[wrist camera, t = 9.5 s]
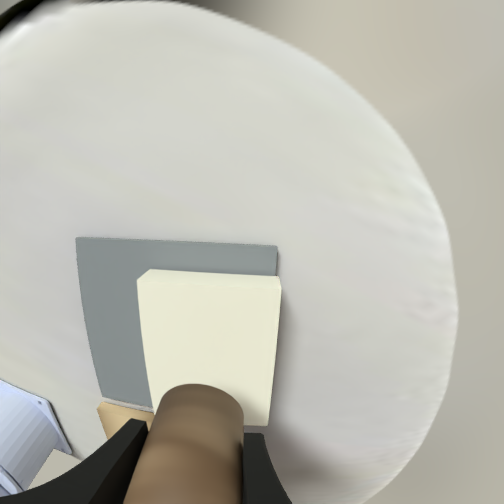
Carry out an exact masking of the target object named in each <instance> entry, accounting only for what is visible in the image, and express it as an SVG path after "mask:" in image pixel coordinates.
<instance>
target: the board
mask: <svg viewBox="0 0 504 504" xmlns="http://www.w3.org/2000/svg"><path fill="white" fill-rule="evenodd" d="M97 411H98V414H99V417H100V420H101V423H102V425H103V428H104V431H105V433H106V436H107V439H108V440H109V439H110V438H111V437H112V436H113V435H114V434H115V433H116V432H117V431H118V430H119V429H120V428H121V427H122V426H123V425H124V424H125V423H126V422H127V421H128V420H129V419H131V418H134V419H139V420H144V421H146V423H147V427H148V431H149V430H150V427H151V424H152V422H153V419H154V416H155V415H154V413H152V412H146V411H141V410H136V409H131V408H126V407H122V406H117V405H113V404H109V403H105V402H101V404H100V405H99V407H98V408H97Z"/></svg>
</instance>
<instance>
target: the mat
mask: <svg viewBox="0 0 504 504" xmlns="http://www.w3.org/2000/svg"><path fill="white" fill-rule="evenodd" d="M76 253H77V265H78V275H79V283H80V291H81V299H82V306H83V312H84V318H85V324H86V329H87V335H88V340H89V345H90V349H91V354H92V358H93V363H94V367H95V371H96V375H97V379H98V383H99V386H100V390H101V393H102V397H106V398H110V399H114V400H119V401H123V402H128V403H133V404H138V405H143V406H148V407H153V405H152V399H151V394H150V388H149V382H148V376H147V370H146V363H145V356H144V349H143V341H142V333H141V324H140V314H139V303H138V290H137V279H138V278H140V277H141V276H142V275H143V274H145V273H146V272H147V271H148V270H149V269H157V270H172V271H188V272H205V273H222V274H241V275H261V276H275V275H276V261H277V246H270V245H250V244H229V243H208V242H187V241H164V240H141V239H118V238H93V237H77V238H76Z"/></svg>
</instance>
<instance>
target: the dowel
mask: <svg viewBox="0 0 504 504" xmlns="http://www.w3.org/2000/svg"><path fill="white" fill-rule="evenodd" d="M243 438H244V414H243V410H242V408H241V406H240V404H239V403H238V402H237V401H236V400H235V399H234V398H233V397H232V396H231V395H229V394H228V393H226V392H225V391H223V390H221V389H218V388H216V387H213V386H209V385H204V384H183V385H179V386H176V387H173V388H172V389H170V390H168V391H167V392H166V393H165V394H164V395H163V397H162V398H161V401H160V403H159V406H158V408H157V411H156V414H155V416H154V419H153V422H152V424H151V427H150V430H149V432H148V435H147V438H146V440H145V443H144V446H143V449H142V451H141V454H140V457H139V460H138V462H137V465H136V468H135V471H134V473H133V476H132V479H131V482H130V485H129V488H128V491H127V493H126V496H125V499H124V502H123V504H242V501H243V466H242V463H243Z"/></svg>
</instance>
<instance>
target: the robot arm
mask: <svg viewBox="0 0 504 504" xmlns="http://www.w3.org/2000/svg"><path fill="white" fill-rule="evenodd" d="M148 432H149V431H148V427H147V423H146V421H144V420H139V419H134V418H131V419H129V420H128V421H127V422H126V423H125V424H124V425H123V426H122V427H121V428H120V429H119V430H118V431H117V432H116V433H115V434H114V435H113V436H112V437H111V438H110V439H109V440H108V441H106V442H105V443H104V444H103V445H102V446H101V447H100V448H99V449H97V450H96V451H95V452H94V453H93V454H91V455H90V456H89V457H87V458H86V459H85V460H84V461H82V462H81V463H80V464H78V465H77V466H75V467H74V468H72V469H71V470H69V471H68V472H66V473H64V474H62V475H61V476H59V477H57V478H55V479H53V480H51V481H49V482H47V483H45V484H43V485H40V486H38V487H35V488H32V489H29V490H27V489H28V487H29V486H30V484H31V483H32V481H33V479H34V478H35V476H36V475H37V473H38V472H39V470H40V469H41V467H42V465H43V464H44V462H45V461H46V459H47V457H48V456H49V455H50V453H51V452H52V450H53V449H57V450H59V451H61V452H64V453H66V454H69V455H70V454H71V453H72V451H71V449H70V447H69V445H68V443H67V441H66V439H65V437H64V435H63V433H62V431H61V429H60V426H59V424H58V422H57V420H56V418H55V415H54V413H53V411H52V408H51V406H50V404H49V402H48V401H47V400H46V399H43V398H41V397H38V396H36V395H33V394H31V393H28V392H26V391H24V390H21V389H19V388H17V387H15V386H12V385H10V384H8V383H6V382H4V381H2V380H0V504H123V502H124V499H125V496H126V493H127V491H128V488H129V485H130V482H131V479H132V476H133V473H134V471H135V468H136V465H137V462H138V460H139V457H140V454H141V451H142V449H143V446H144V443H145V440H146V438H147V435H148ZM242 466H243V501H242V503H243V504H292V502H291V501H290V499H289V498H288V496H287V494H286V492H285V491H284V489H283V487H282V485H281V483H280V481H279V479H278V477H277V475H276V472H275V470H274V468H273V465H272V463H271V460H270V458H269V455H268V452H267V448H266V445H265V440H264V435H263V434H261V433H244V441H243V463H242Z"/></svg>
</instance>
